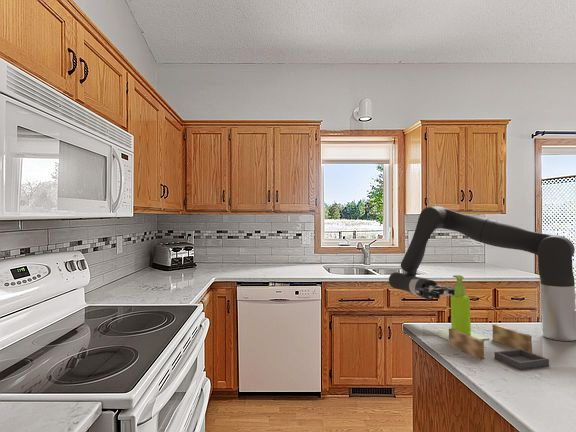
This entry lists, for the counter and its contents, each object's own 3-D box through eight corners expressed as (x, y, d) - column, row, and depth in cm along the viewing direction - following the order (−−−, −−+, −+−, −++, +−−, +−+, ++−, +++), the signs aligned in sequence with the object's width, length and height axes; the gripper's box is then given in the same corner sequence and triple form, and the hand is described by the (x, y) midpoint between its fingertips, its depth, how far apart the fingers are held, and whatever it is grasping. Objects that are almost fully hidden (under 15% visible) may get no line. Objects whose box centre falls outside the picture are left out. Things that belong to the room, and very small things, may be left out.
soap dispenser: (466, 332, 133) (464, 274, 134) (473, 338, 126) (471, 277, 127) (448, 332, 134) (446, 274, 134) (455, 338, 127) (453, 277, 127)
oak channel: (449, 344, 122) (448, 328, 122) (496, 339, 126) (495, 324, 126) (480, 359, 108) (479, 341, 109) (532, 353, 112) (531, 335, 113)
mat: (433, 334, 134) (433, 332, 134) (466, 330, 137) (466, 329, 137) (454, 343, 123) (454, 342, 123) (489, 339, 126) (489, 338, 126)
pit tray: (494, 358, 109) (494, 352, 109) (521, 355, 111) (521, 348, 111) (520, 370, 100) (520, 363, 100) (549, 366, 102) (548, 359, 102)
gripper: (406, 278, 149) (431, 285, 133) (439, 277, 152) (467, 283, 137) (406, 298, 149) (431, 307, 133) (439, 296, 152) (467, 304, 137)
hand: (449, 295), depth 135 cm, fingers open, 8 cm apart
